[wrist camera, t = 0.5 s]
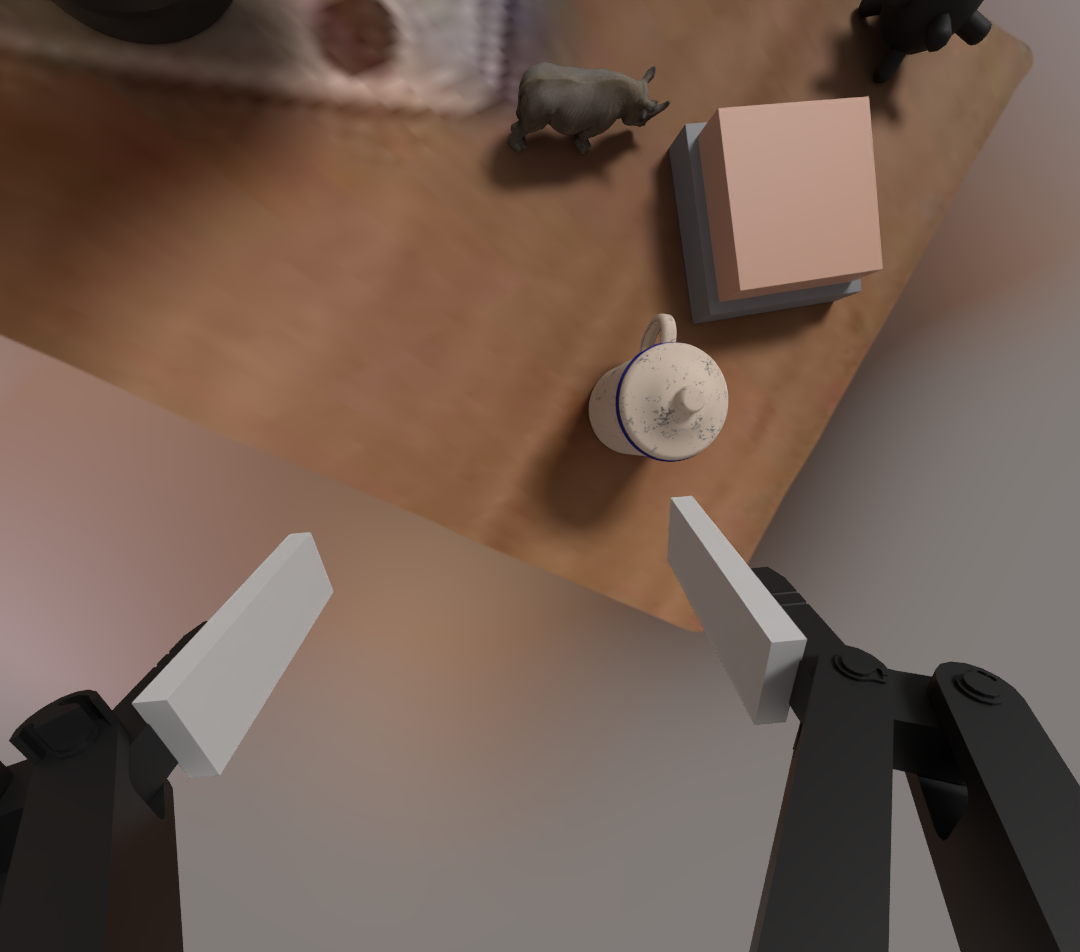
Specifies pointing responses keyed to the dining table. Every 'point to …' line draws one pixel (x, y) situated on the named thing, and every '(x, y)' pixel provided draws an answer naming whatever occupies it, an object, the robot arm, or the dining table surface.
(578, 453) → the dining table surface
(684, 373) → the teacup with lid
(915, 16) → the toy ball
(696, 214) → the brick plinth
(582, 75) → the rhino figurine
